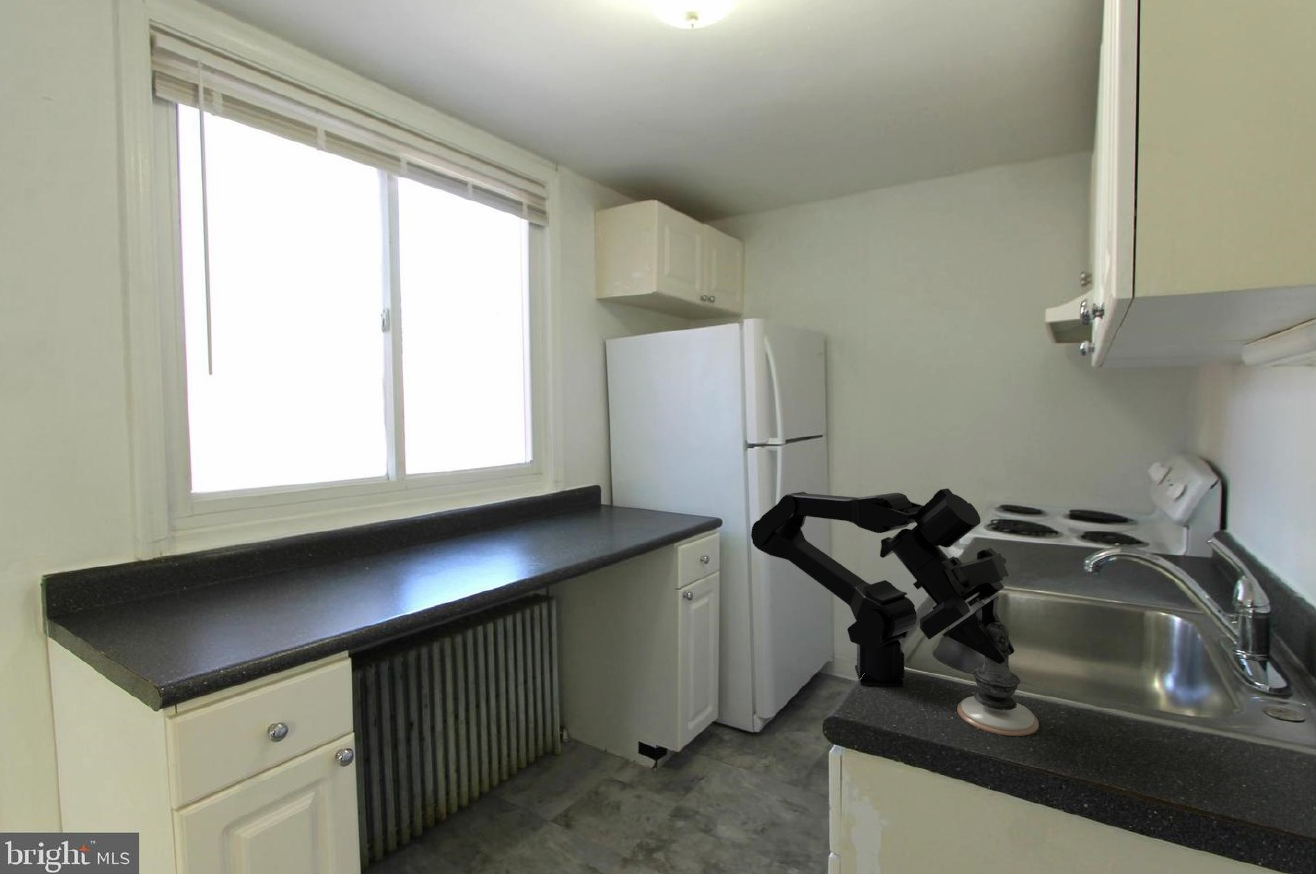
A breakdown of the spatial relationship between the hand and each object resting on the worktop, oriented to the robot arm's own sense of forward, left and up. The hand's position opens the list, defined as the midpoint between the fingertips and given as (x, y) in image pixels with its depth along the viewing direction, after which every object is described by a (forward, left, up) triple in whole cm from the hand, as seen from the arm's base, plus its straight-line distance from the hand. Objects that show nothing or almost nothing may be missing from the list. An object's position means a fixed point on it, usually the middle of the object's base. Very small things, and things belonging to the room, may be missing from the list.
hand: (1007, 658), depth 87 cm
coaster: (-1, +1, -9) cm, 9 cm away
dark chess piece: (-1, +1, -7) cm, 7 cm away
